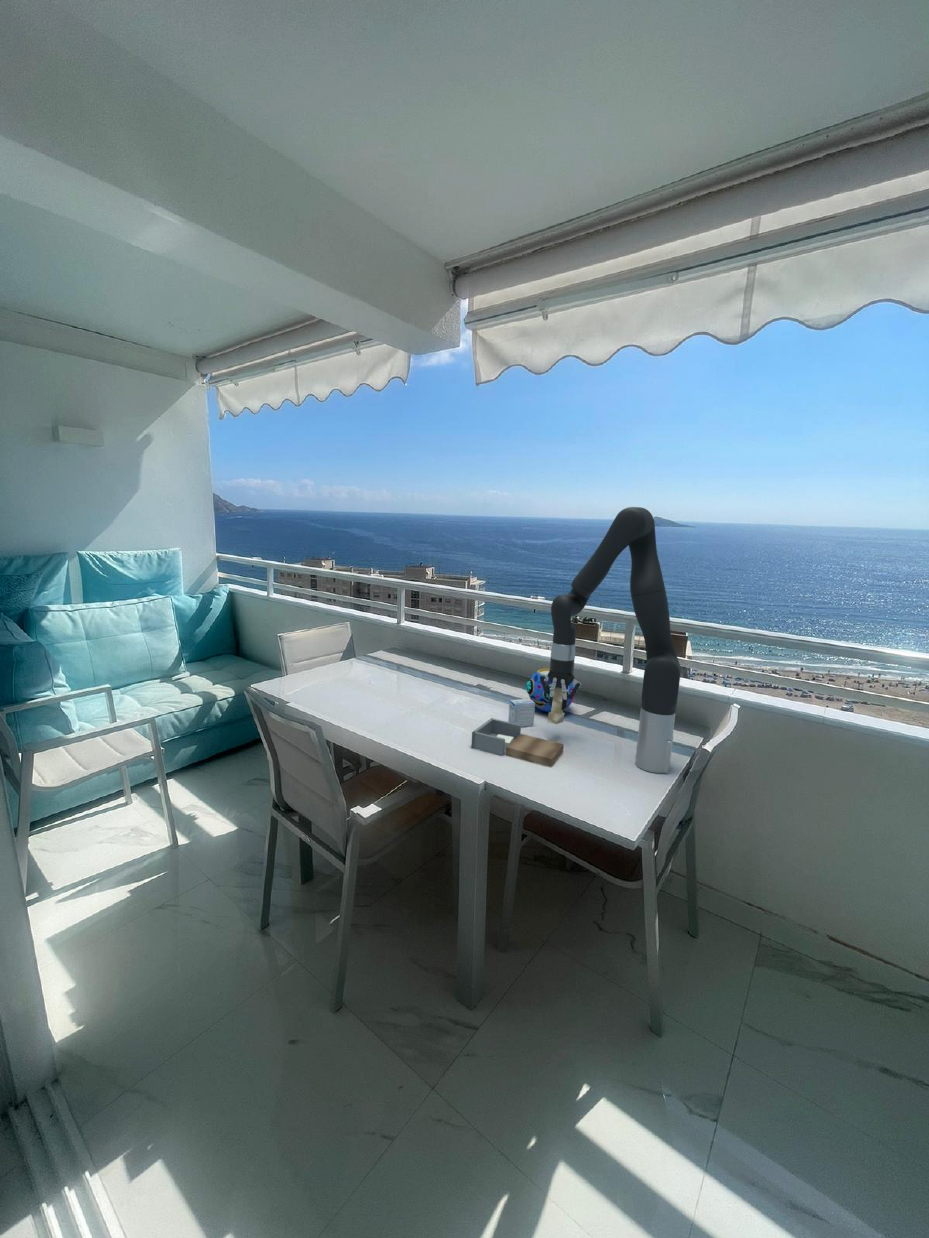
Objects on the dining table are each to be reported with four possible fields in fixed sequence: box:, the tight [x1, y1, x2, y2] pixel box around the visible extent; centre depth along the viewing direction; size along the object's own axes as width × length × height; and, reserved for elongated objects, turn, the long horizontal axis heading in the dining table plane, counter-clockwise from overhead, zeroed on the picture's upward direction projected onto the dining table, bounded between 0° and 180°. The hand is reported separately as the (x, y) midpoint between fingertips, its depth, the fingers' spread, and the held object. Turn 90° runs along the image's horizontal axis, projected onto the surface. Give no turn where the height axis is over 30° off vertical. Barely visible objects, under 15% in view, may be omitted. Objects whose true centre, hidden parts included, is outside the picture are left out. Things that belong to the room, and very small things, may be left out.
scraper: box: [546, 687, 565, 725], centre depth 155 cm, size 3×8×11 cm, turn 152°
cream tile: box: [497, 734, 514, 749], centre depth 150 cm, size 5×5×2 cm
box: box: [471, 717, 522, 757], centre depth 151 cm, size 10×14×5 cm
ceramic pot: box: [525, 667, 576, 713], centre depth 182 cm, size 18×18×15 cm
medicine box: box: [507, 698, 536, 728], centre depth 167 cm, size 8×4×9 cm, turn 111°
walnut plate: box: [505, 733, 565, 768], centre depth 145 cm, size 14×12×2 cm
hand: (558, 708), depth 156 cm, fingers closed on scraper, 3 cm apart
